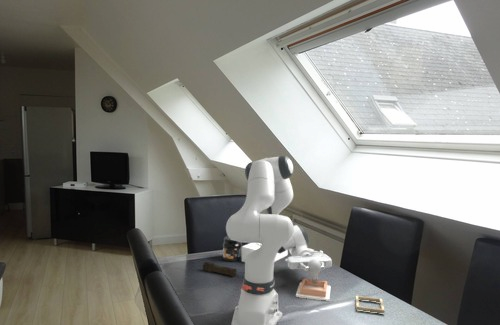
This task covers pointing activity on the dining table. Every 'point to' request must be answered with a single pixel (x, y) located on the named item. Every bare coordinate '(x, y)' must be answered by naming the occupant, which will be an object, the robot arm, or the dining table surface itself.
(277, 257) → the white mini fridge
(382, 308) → the square wooden frame
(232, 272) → the hand tool
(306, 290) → the socket
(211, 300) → the dining table surface
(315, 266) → the lightbulb
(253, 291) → the robot arm
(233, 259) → the supplement container
